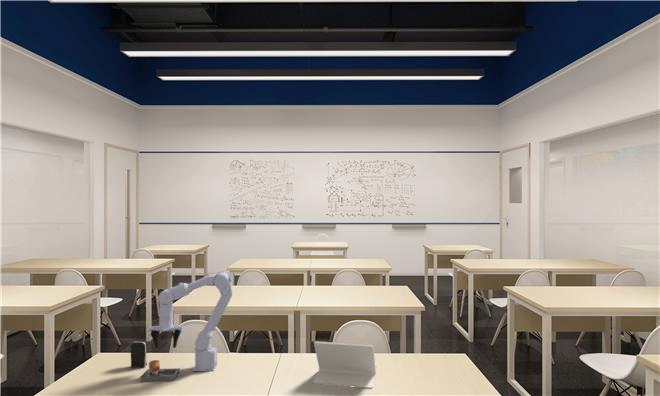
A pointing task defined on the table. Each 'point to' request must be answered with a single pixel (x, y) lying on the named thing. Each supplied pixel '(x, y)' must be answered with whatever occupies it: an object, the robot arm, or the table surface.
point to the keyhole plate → (160, 375)
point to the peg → (154, 366)
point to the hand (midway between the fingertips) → (166, 347)
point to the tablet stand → (345, 364)
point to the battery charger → (139, 353)
